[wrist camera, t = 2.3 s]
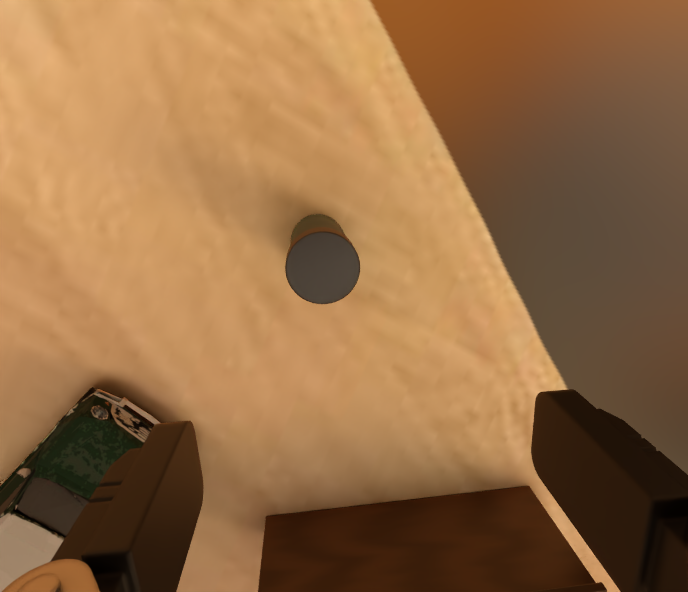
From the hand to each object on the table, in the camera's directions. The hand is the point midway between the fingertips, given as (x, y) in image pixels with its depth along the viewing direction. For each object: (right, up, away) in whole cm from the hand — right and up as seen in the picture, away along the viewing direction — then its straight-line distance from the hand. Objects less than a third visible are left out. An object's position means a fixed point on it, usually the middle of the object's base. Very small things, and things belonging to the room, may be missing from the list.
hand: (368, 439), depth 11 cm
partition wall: (+4, -14, +27) cm, 31 cm away
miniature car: (-20, -11, +24) cm, 33 cm away
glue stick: (-2, +7, +20) cm, 22 cm away
